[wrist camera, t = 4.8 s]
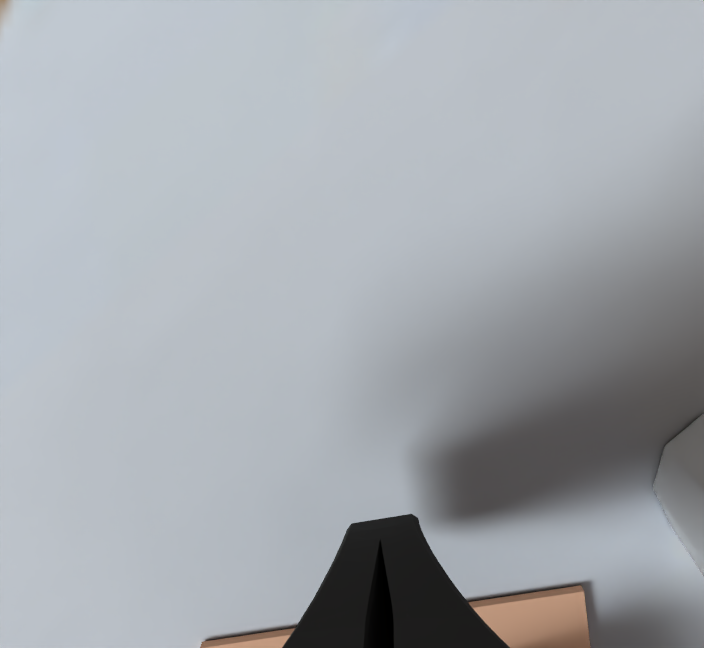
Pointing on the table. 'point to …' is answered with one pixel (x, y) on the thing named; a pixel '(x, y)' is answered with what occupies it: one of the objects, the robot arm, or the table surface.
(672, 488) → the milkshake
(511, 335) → the table surface
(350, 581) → the robot arm
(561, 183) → the table surface
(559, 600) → the tile terracotta
